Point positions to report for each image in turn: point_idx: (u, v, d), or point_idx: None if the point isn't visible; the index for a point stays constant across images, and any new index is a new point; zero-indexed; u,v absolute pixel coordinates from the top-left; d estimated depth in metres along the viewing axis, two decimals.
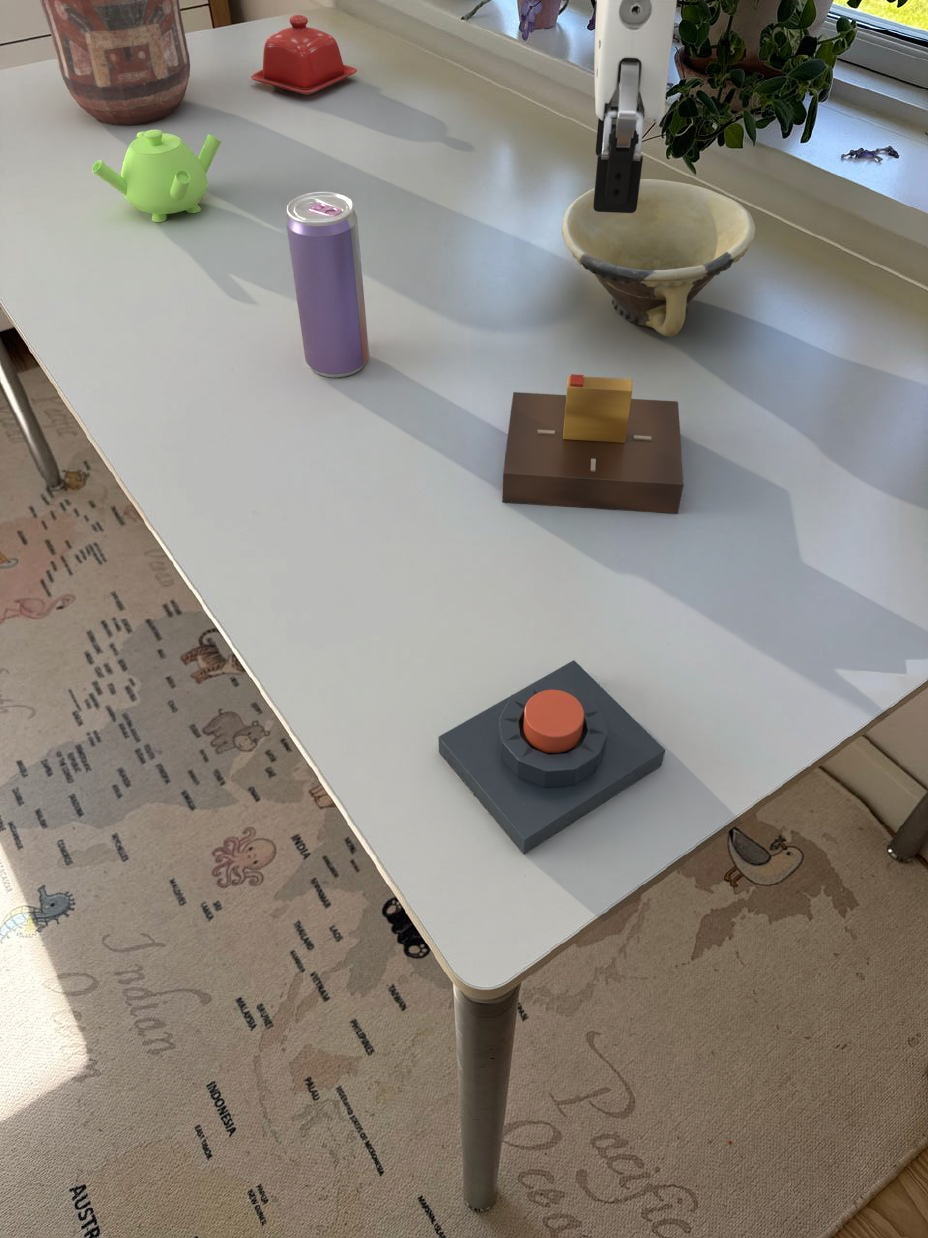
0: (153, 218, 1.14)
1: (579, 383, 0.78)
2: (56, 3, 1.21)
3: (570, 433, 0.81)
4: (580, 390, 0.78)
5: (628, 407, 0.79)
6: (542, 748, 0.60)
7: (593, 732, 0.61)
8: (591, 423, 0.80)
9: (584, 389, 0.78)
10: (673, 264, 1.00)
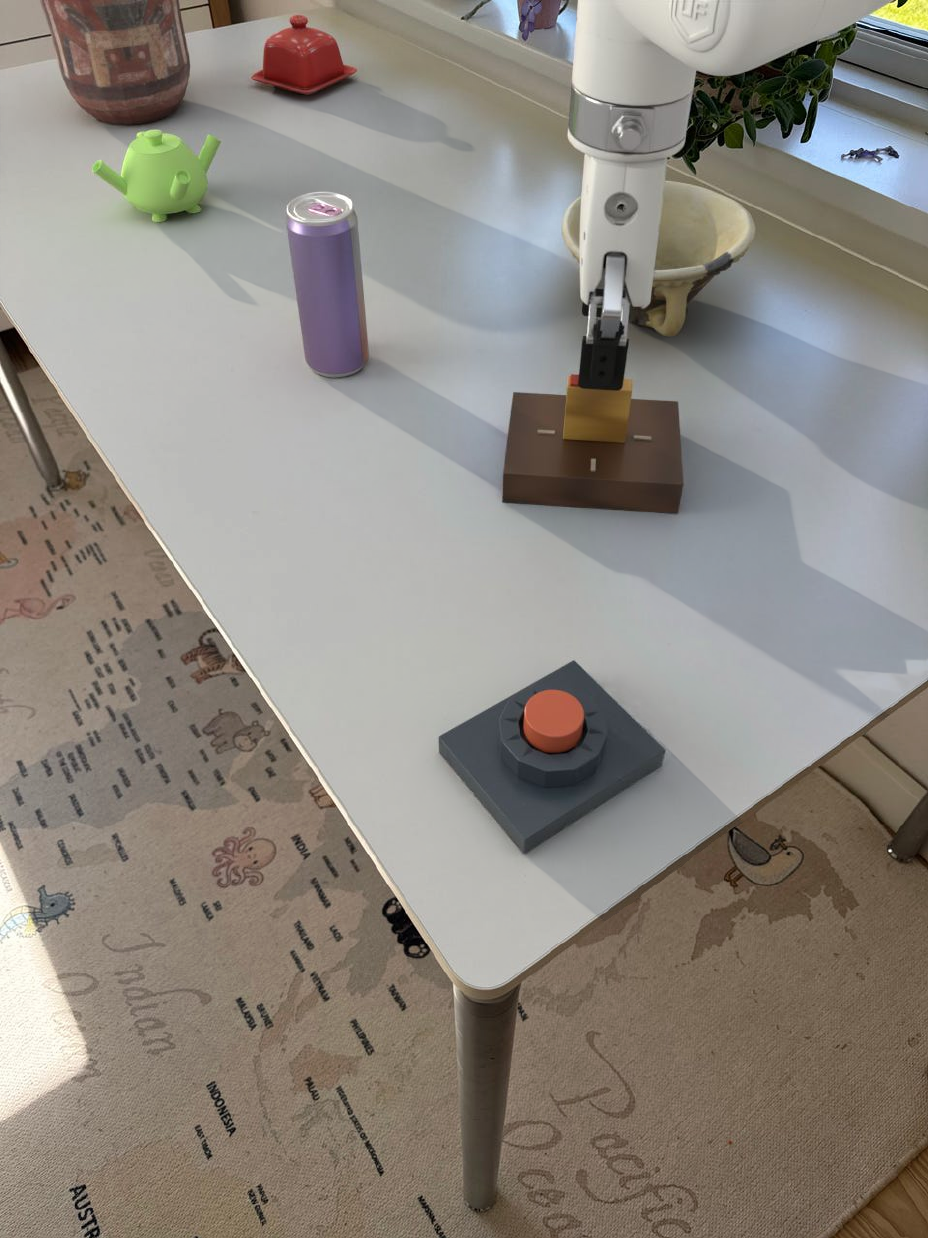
0: (153, 218, 1.14)
1: None
2: (56, 3, 1.21)
3: (570, 433, 0.81)
4: (580, 390, 0.78)
5: (628, 407, 0.79)
6: (542, 748, 0.60)
7: (593, 732, 0.61)
8: (591, 423, 0.80)
9: (584, 389, 0.78)
10: (673, 264, 1.00)
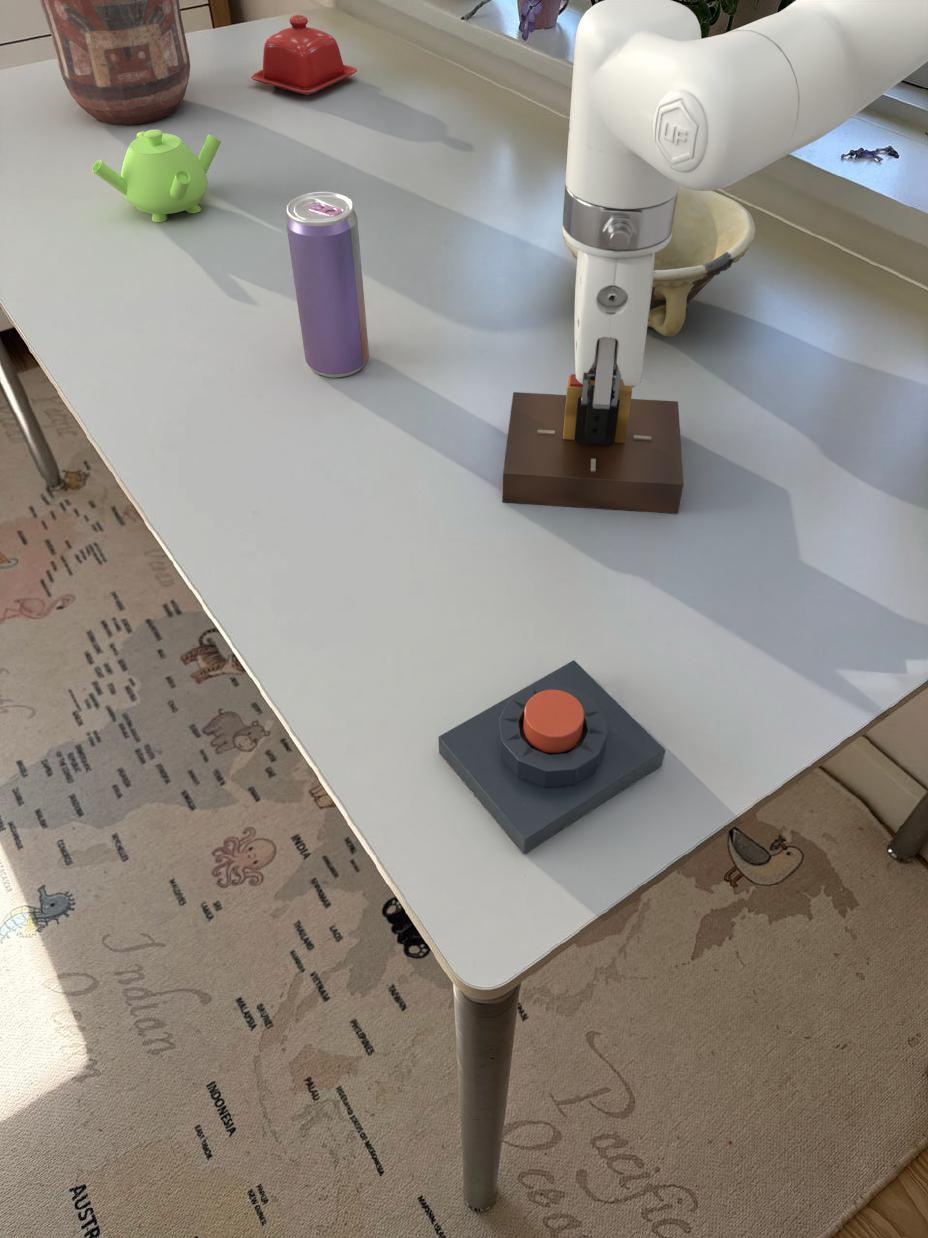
0: (153, 218, 1.14)
1: (579, 383, 0.78)
2: (56, 3, 1.21)
3: (570, 433, 0.81)
4: (580, 390, 0.78)
5: (628, 407, 0.79)
6: (542, 748, 0.60)
7: (593, 732, 0.61)
8: None
9: None
10: (673, 264, 1.00)
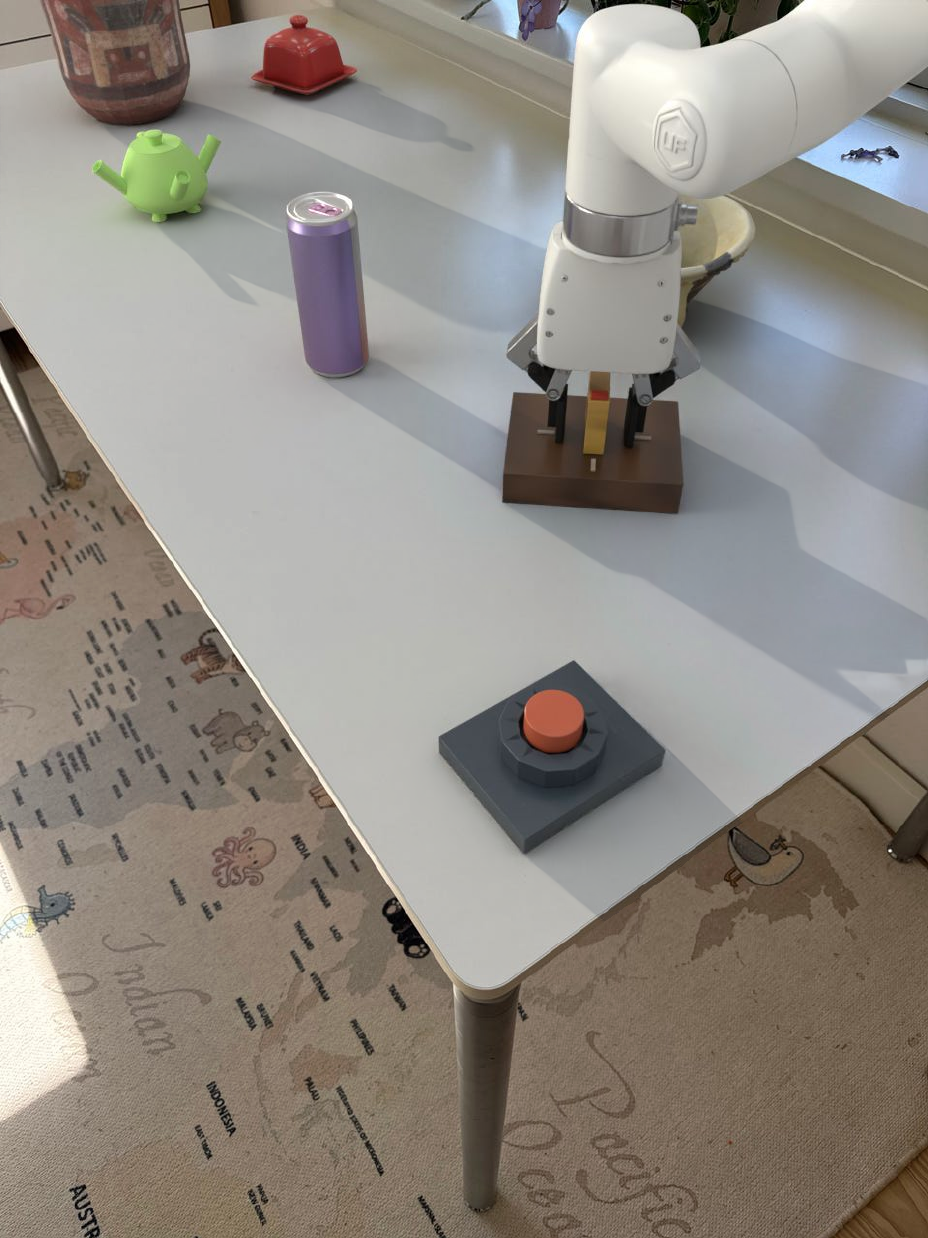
0: (153, 218, 1.14)
1: (606, 393, 0.77)
2: (56, 3, 1.21)
3: None
4: (609, 397, 0.77)
5: None
6: (542, 748, 0.60)
7: (593, 732, 0.61)
8: None
9: (609, 393, 0.77)
10: None
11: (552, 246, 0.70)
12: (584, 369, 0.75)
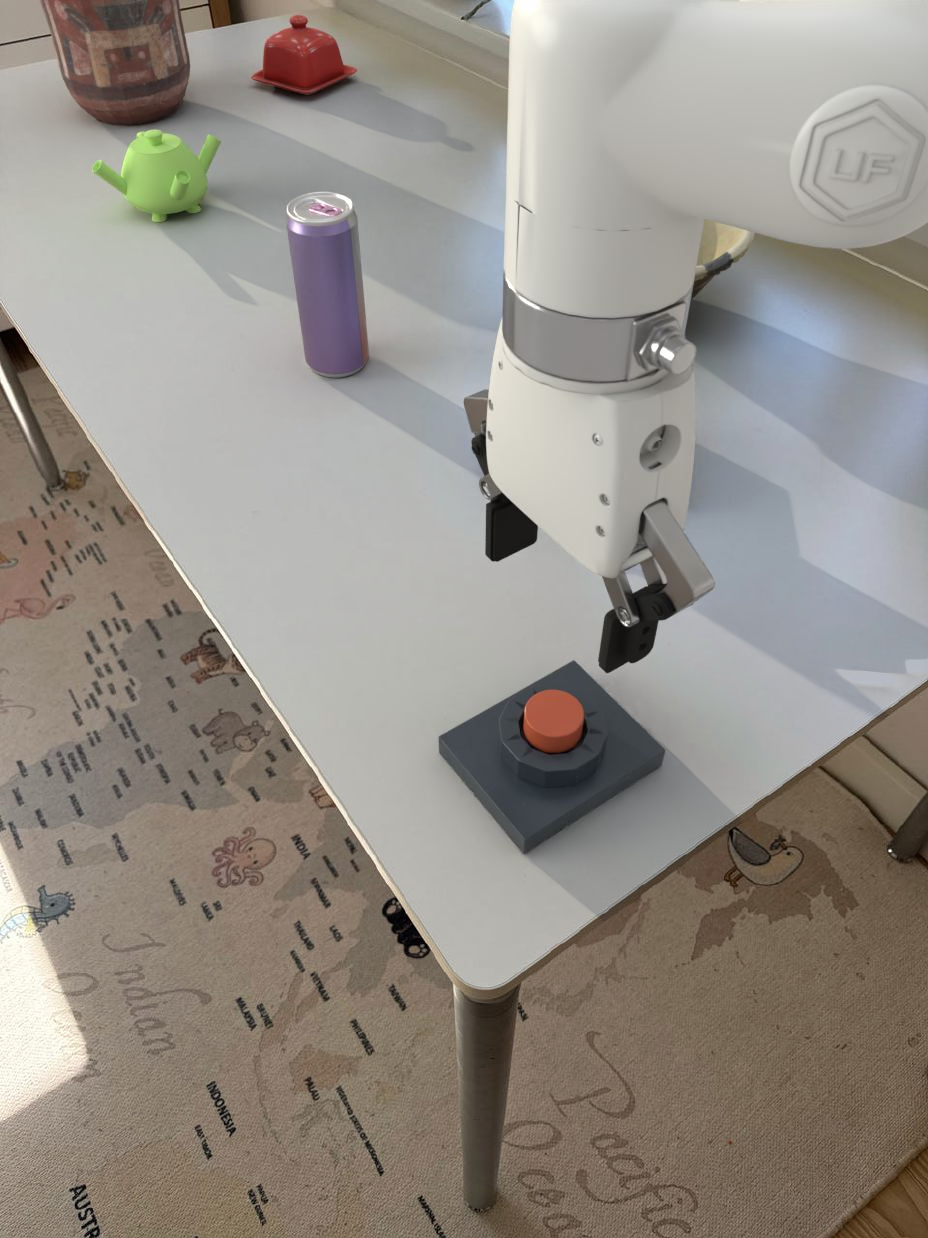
0: (153, 218, 1.14)
1: None
2: (56, 3, 1.21)
3: None
4: None
5: None
6: (542, 748, 0.60)
7: (593, 732, 0.61)
8: None
9: None
10: None
11: None
12: (524, 512, 0.49)
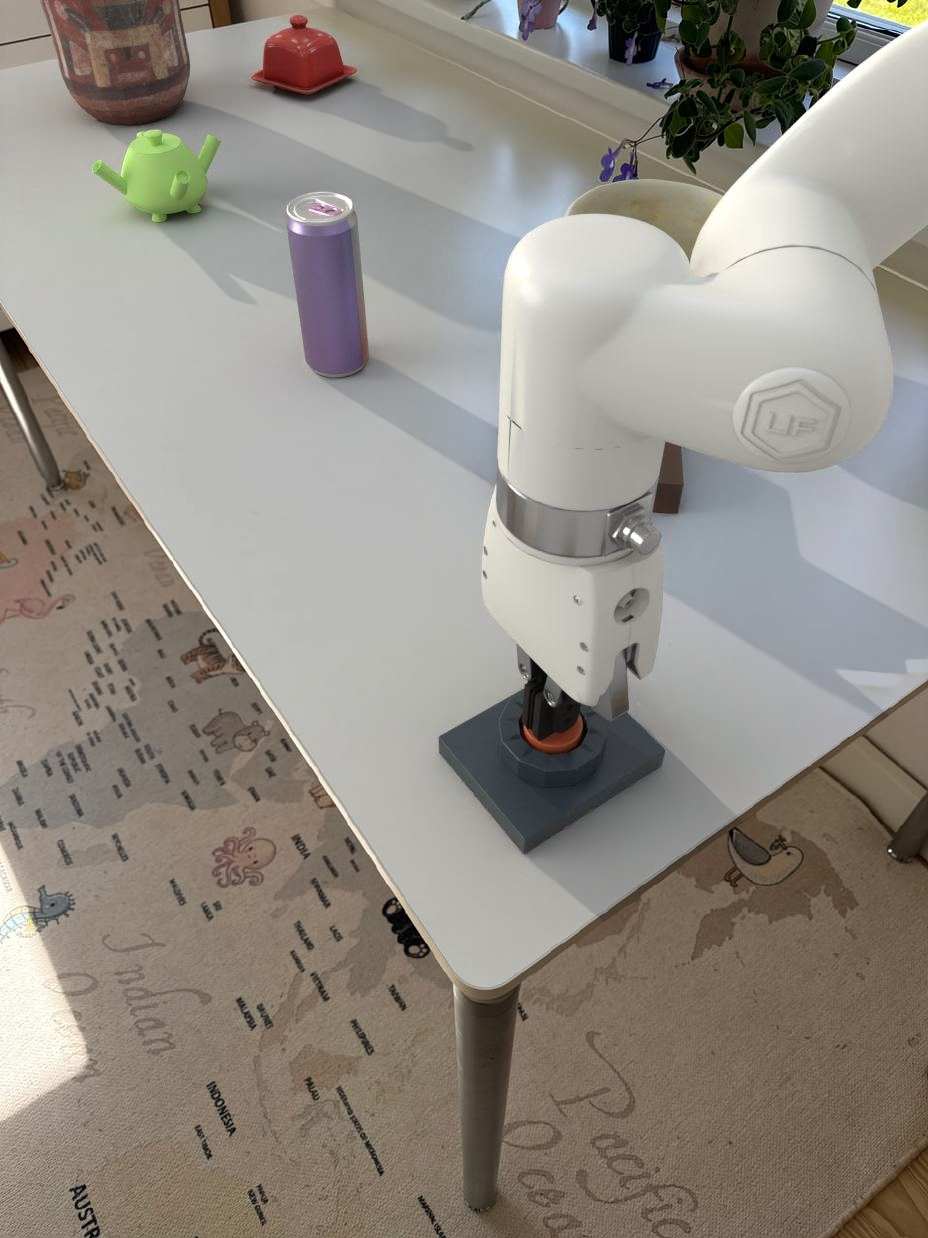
0: (153, 218, 1.14)
1: None
2: (56, 3, 1.21)
3: None
4: None
5: None
6: None
7: (593, 732, 0.61)
8: None
9: None
10: None
11: None
12: (515, 640, 0.56)
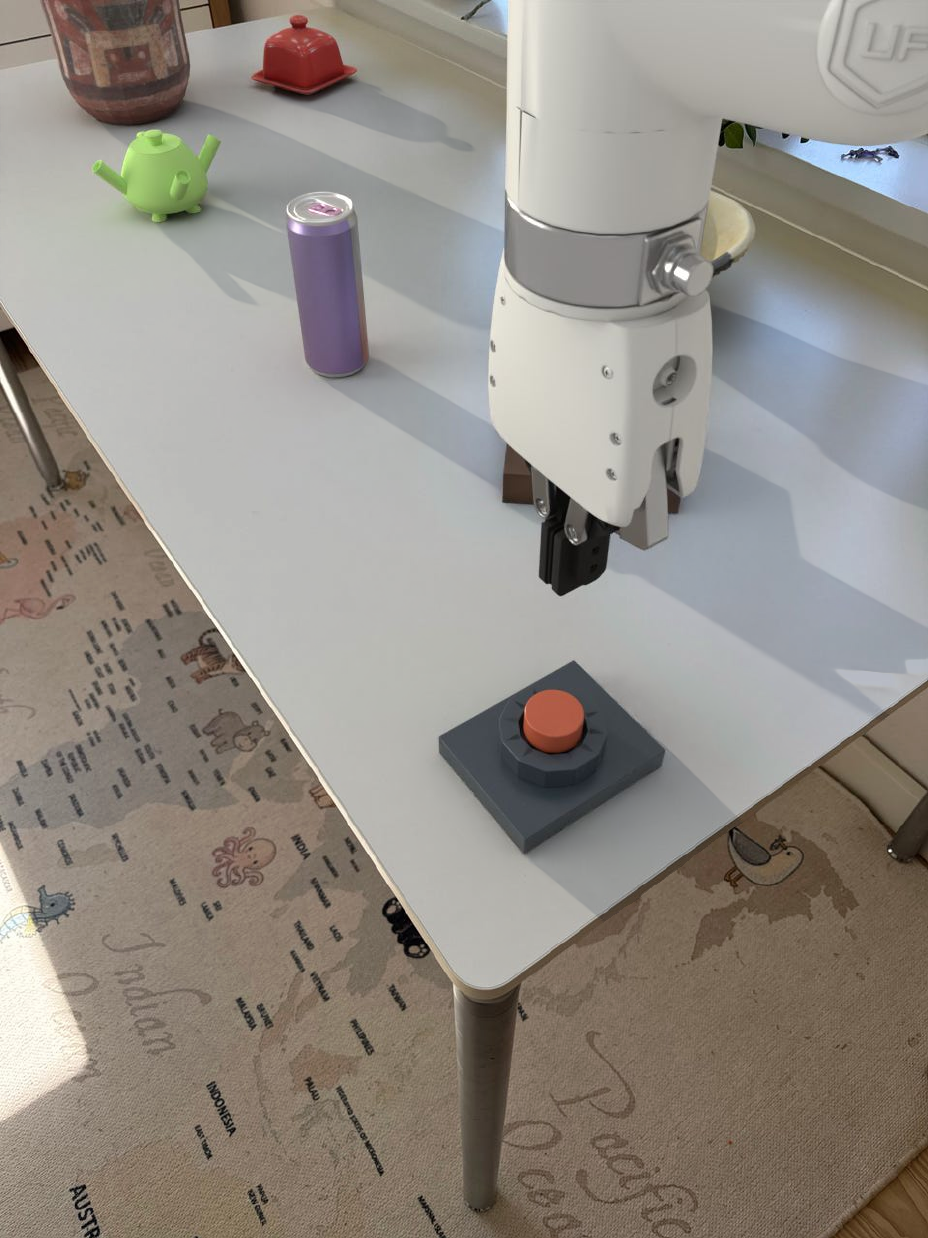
0: (153, 218, 1.14)
1: None
2: (56, 3, 1.21)
3: None
4: None
5: None
6: (542, 748, 0.60)
7: (593, 732, 0.61)
8: None
9: None
10: None
11: None
12: (530, 462, 0.46)
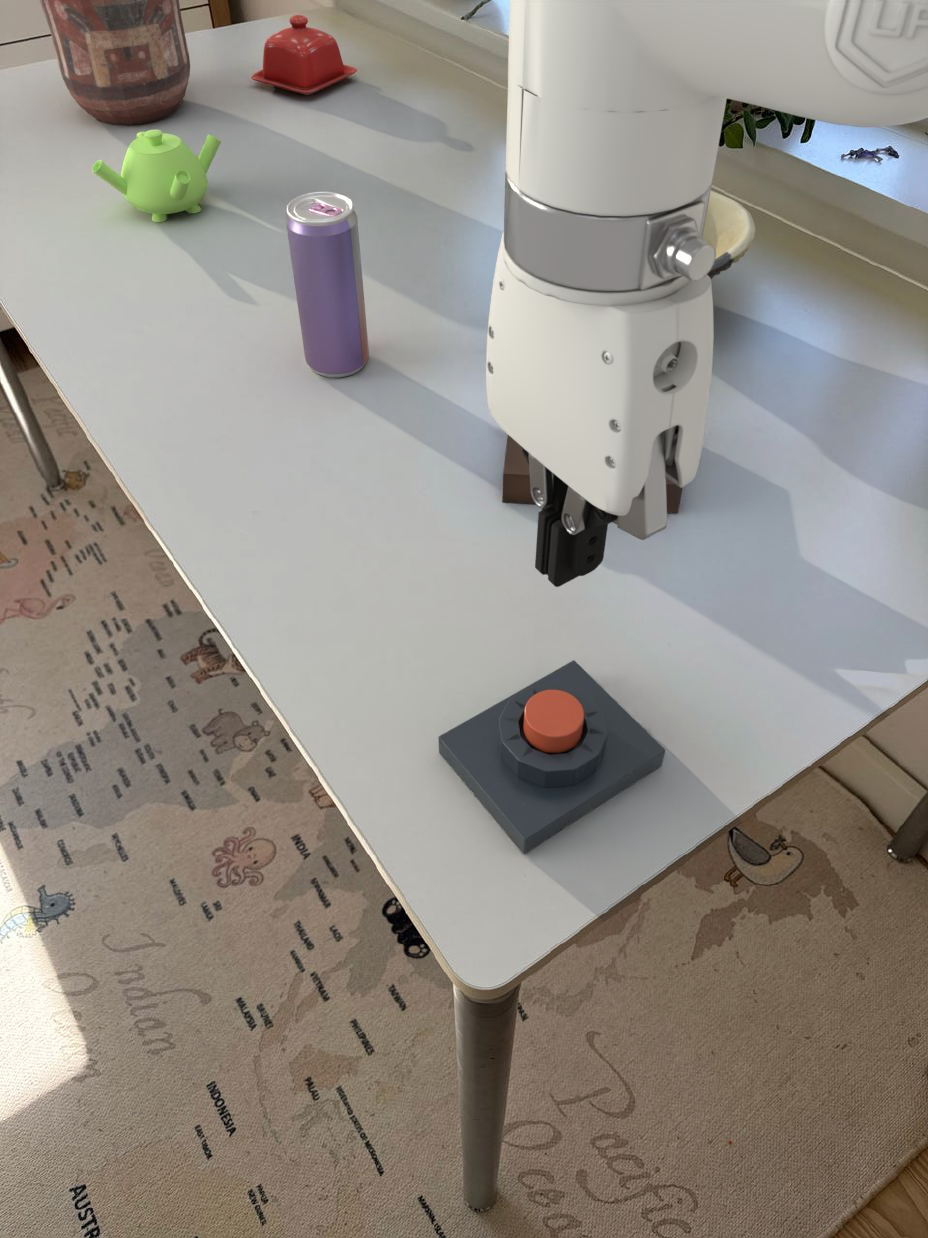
0: (153, 218, 1.14)
1: None
2: (56, 3, 1.21)
3: None
4: None
5: None
6: (542, 748, 0.60)
7: (593, 732, 0.61)
8: None
9: None
10: None
11: None
12: (527, 450, 0.46)
